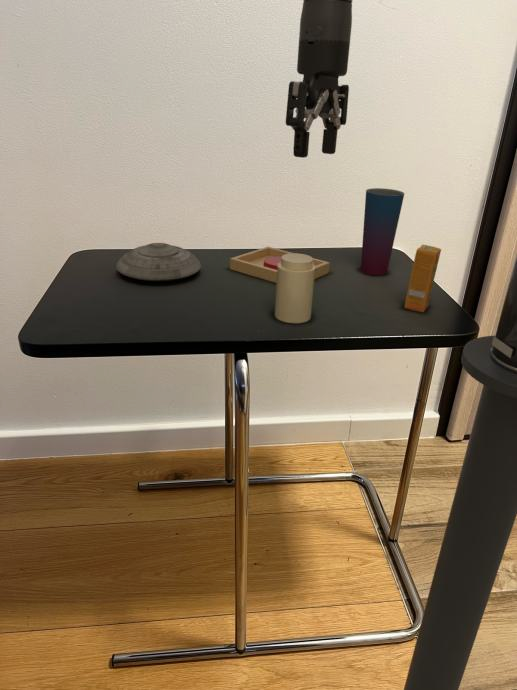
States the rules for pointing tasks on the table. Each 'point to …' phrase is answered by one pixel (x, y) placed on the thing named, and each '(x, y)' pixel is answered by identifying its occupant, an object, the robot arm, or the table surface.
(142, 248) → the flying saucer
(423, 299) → the supplement box
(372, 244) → the cup
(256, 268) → the tray
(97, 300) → the table surface
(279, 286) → the jar
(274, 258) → the lid
